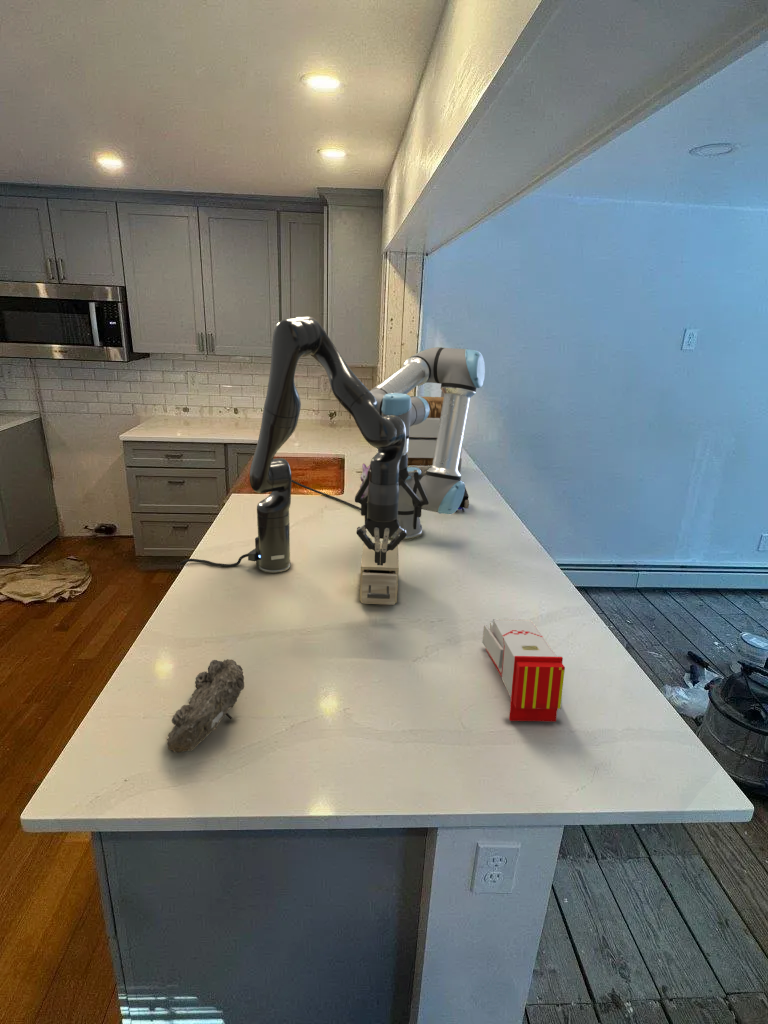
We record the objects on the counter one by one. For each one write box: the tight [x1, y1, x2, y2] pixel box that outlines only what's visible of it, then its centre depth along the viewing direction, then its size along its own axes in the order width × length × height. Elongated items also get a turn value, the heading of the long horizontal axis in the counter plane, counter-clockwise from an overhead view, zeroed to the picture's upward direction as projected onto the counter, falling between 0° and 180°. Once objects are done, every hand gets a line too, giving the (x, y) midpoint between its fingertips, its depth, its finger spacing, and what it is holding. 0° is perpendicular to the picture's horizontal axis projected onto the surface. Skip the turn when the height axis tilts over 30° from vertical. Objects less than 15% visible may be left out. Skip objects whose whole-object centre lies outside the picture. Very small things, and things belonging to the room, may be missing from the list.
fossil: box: [166, 658, 245, 754], centre depth 106 cm, size 22×10×15 cm
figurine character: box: [455, 487, 470, 513], centre depth 227 cm, size 7×8×15 cm
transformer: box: [406, 390, 464, 475], centre depth 268 cm, size 34×33×41 cm
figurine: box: [359, 463, 370, 498], centre depth 232 cm, size 9×10×15 cm
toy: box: [481, 618, 566, 722], centre depth 122 cm, size 12×13×30 cm
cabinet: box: [359, 542, 400, 604], centre depth 159 cm, size 16×10×10 cm, turn 179°
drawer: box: [361, 570, 396, 606], centre depth 153 cm, size 21×9×8 cm, turn 0°
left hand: (380, 564), depth 143 cm, fingers closed
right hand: (390, 526), depth 159 cm, fingers open, 13 cm apart
